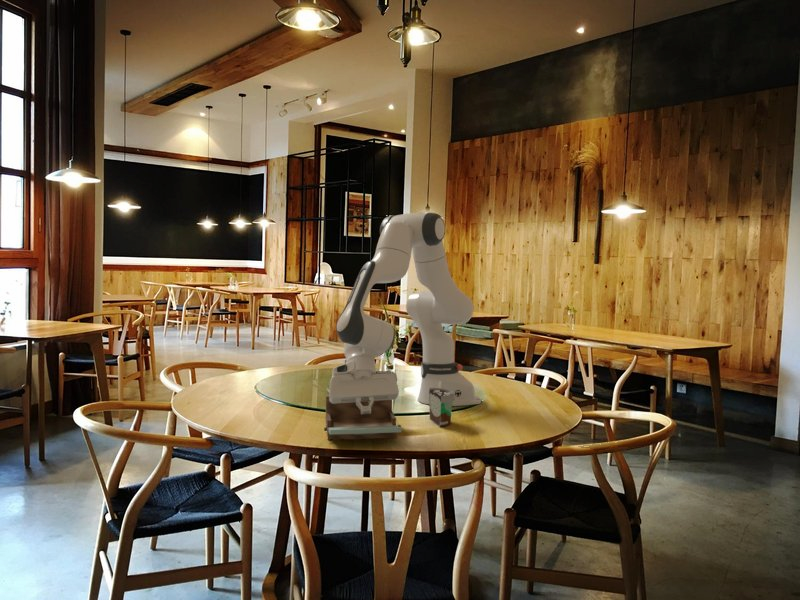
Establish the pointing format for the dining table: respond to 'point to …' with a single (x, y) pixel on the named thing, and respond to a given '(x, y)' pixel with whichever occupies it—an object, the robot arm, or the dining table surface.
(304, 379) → the dining table surface
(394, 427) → the panel
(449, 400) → the food container
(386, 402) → the brown open box
